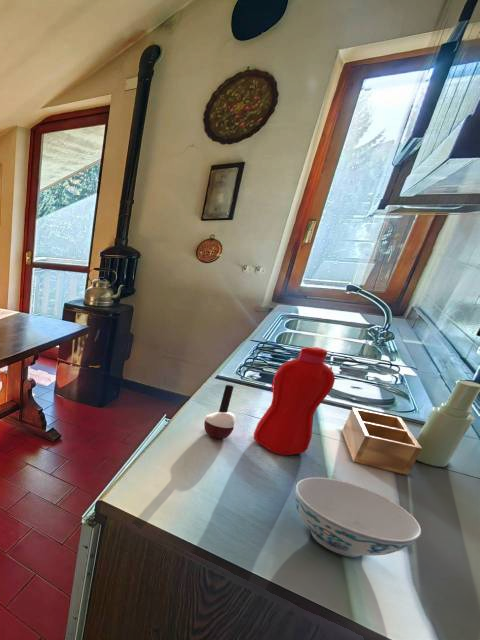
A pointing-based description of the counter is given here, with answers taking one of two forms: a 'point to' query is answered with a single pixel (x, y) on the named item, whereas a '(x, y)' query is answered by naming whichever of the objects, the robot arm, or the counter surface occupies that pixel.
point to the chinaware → (353, 518)
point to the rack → (380, 441)
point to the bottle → (447, 425)
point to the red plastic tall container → (295, 402)
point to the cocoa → (221, 418)
